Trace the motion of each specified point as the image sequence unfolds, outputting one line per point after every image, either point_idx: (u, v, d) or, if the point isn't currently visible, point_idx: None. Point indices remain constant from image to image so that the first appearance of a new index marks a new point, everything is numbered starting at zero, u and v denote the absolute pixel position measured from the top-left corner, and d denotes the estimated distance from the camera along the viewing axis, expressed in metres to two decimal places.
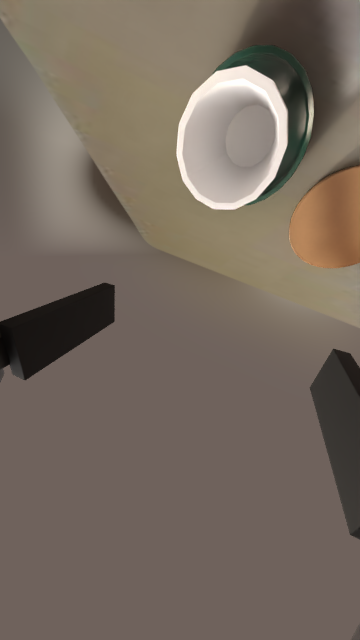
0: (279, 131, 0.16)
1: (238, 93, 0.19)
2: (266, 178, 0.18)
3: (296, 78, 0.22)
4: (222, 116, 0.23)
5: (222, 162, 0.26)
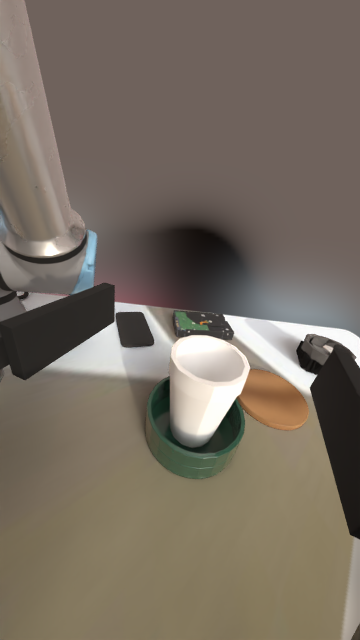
0: (213, 339, 0.29)
1: None
2: (234, 349, 0.27)
3: None
4: None
5: None
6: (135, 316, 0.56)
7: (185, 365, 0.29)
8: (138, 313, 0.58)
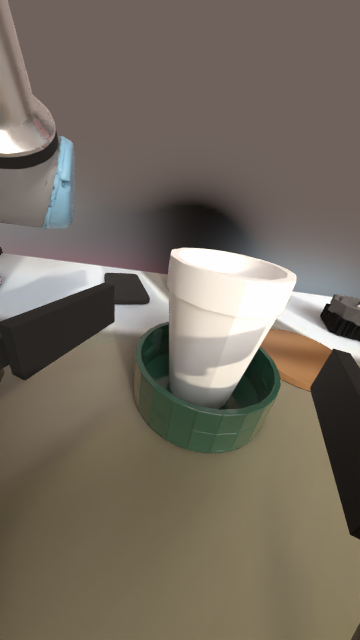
0: (232, 253, 0.20)
1: None
2: (264, 262, 0.18)
3: None
4: None
5: None
6: (128, 277, 0.47)
7: None
8: (132, 275, 0.49)
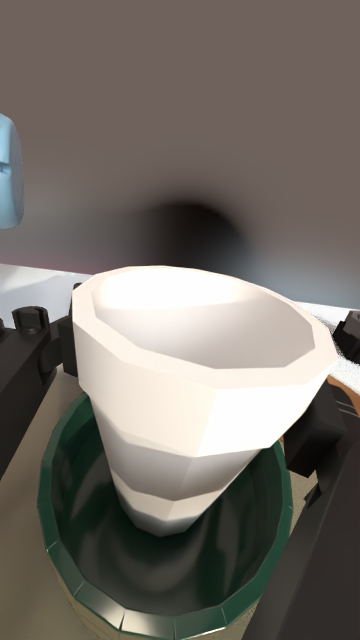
0: (212, 274, 0.12)
1: None
2: (265, 292, 0.11)
3: None
4: None
5: None
6: None
7: (148, 339, 0.13)
8: None
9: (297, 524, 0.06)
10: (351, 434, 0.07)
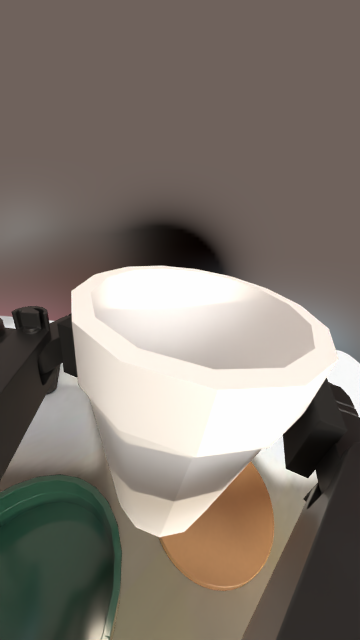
0: (212, 274, 0.12)
1: None
2: (265, 292, 0.11)
3: (40, 507, 0.20)
4: None
5: None
6: None
7: (148, 339, 0.13)
8: None
9: (297, 524, 0.06)
10: (351, 434, 0.07)
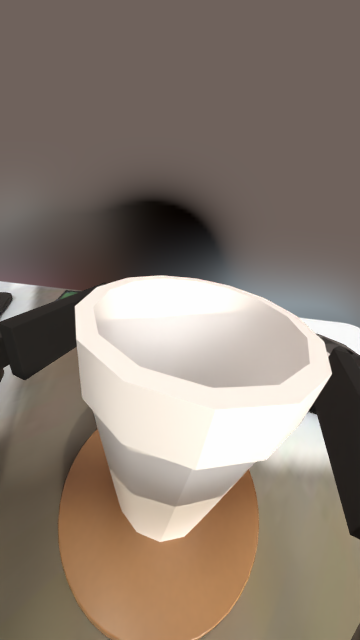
0: (211, 284, 0.12)
1: None
2: (263, 302, 0.11)
3: None
4: None
5: None
6: None
7: (148, 347, 0.13)
8: (1, 295, 0.34)
9: None
10: None
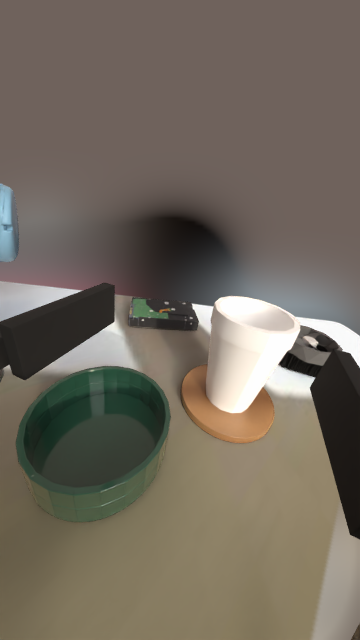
0: (253, 299, 0.27)
1: None
2: (277, 308, 0.26)
3: (101, 394, 0.27)
4: None
5: None
6: None
7: None
8: None
9: None
10: None
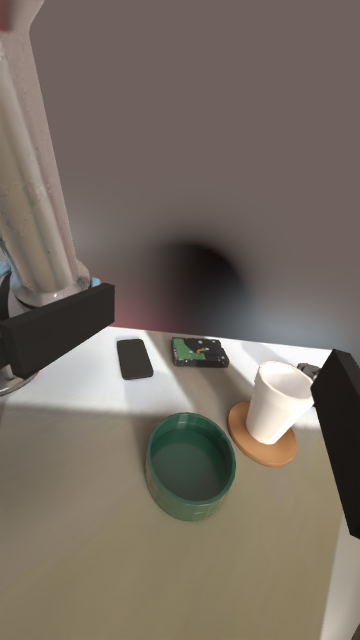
0: (282, 364, 0.39)
1: None
2: (300, 372, 0.37)
3: (175, 430, 0.39)
4: None
5: None
6: (135, 344, 0.59)
7: None
8: (138, 341, 0.61)
9: None
10: None
